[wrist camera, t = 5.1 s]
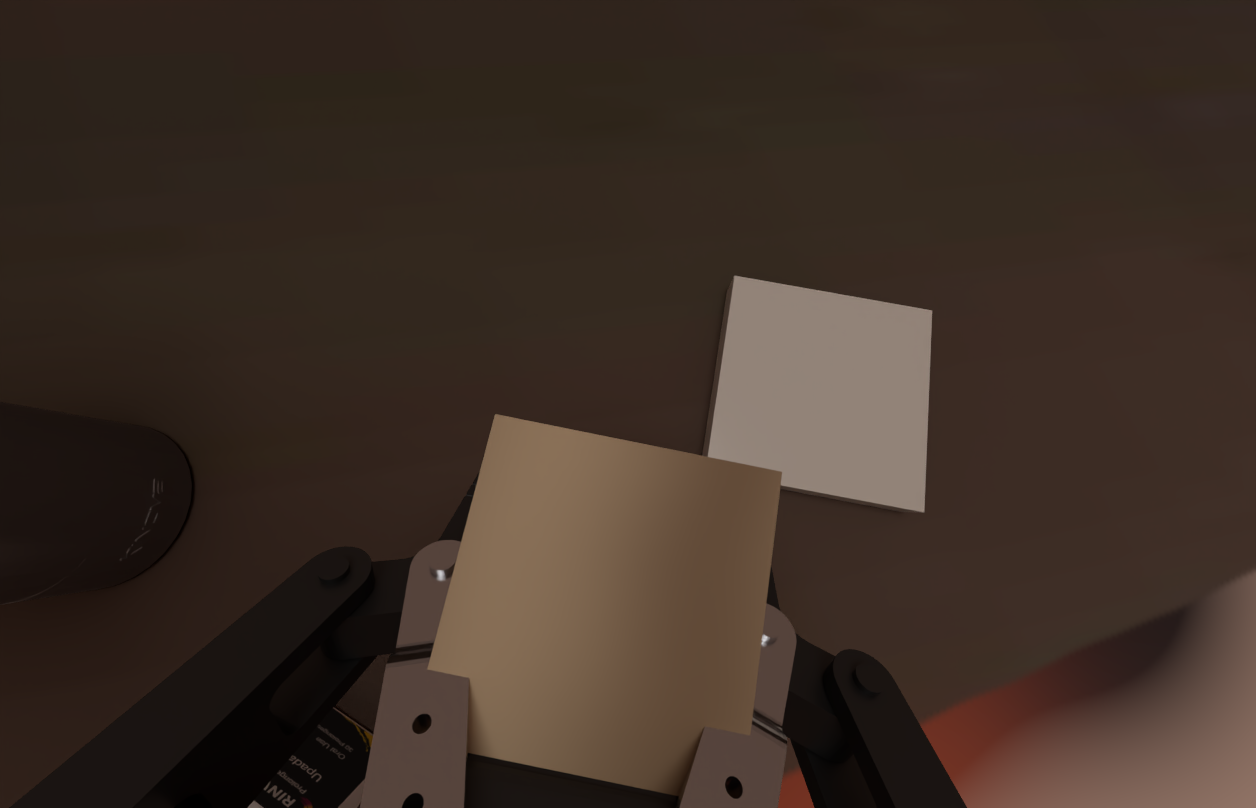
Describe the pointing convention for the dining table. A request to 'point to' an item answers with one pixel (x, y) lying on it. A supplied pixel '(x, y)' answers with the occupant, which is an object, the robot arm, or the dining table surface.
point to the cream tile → (824, 392)
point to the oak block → (607, 602)
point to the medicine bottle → (322, 768)
